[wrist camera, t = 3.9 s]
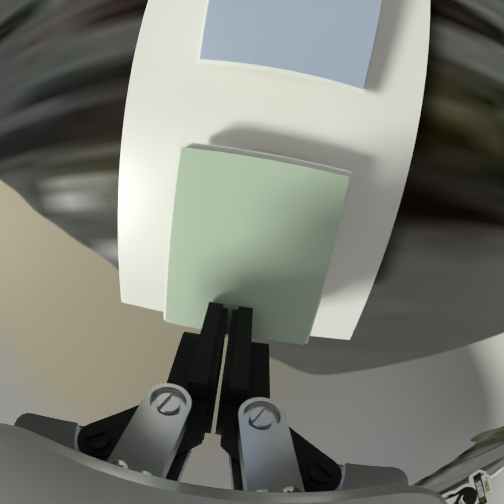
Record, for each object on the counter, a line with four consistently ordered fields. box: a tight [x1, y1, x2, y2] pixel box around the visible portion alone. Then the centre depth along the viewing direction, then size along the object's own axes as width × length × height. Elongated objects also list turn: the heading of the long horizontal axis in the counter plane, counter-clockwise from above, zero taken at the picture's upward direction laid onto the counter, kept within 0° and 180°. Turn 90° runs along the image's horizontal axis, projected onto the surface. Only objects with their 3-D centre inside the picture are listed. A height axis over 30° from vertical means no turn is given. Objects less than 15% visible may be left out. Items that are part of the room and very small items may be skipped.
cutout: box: [442, 469, 492, 504], centre depth 41 cm, size 15×3×25 cm
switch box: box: [118, 0, 430, 340], centre depth 13 cm, size 13×21×6 cm, turn 170°
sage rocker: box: [164, 141, 352, 345], centre depth 11 cm, size 6×7×2 cm
